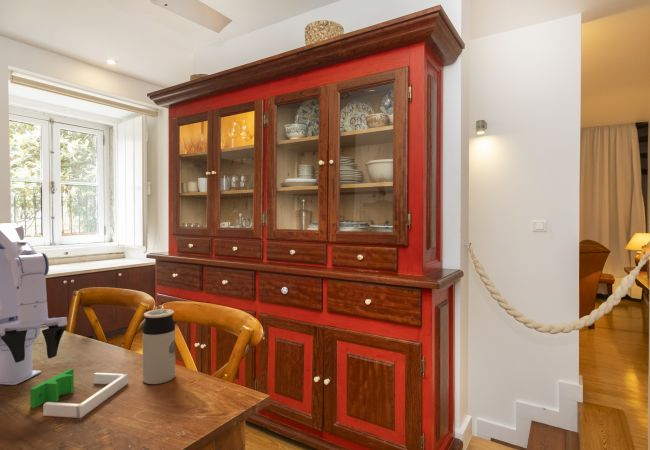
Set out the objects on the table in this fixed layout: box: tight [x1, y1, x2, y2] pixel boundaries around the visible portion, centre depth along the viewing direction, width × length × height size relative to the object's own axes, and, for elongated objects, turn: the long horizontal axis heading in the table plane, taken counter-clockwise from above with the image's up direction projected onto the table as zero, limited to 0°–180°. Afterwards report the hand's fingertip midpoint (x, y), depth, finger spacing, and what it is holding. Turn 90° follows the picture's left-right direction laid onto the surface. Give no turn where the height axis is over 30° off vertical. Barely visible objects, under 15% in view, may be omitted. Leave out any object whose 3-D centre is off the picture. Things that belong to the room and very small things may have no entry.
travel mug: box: [142, 308, 176, 385], centre depth 100 cm, size 8×8×18 cm
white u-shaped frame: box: [42, 372, 129, 419], centre depth 89 cm, size 9×17×2 cm, turn 175°
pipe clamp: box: [29, 368, 75, 409], centre depth 90 cm, size 11×4×5 cm, turn 173°
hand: (36, 359), depth 90 cm, fingers open, 7 cm apart
